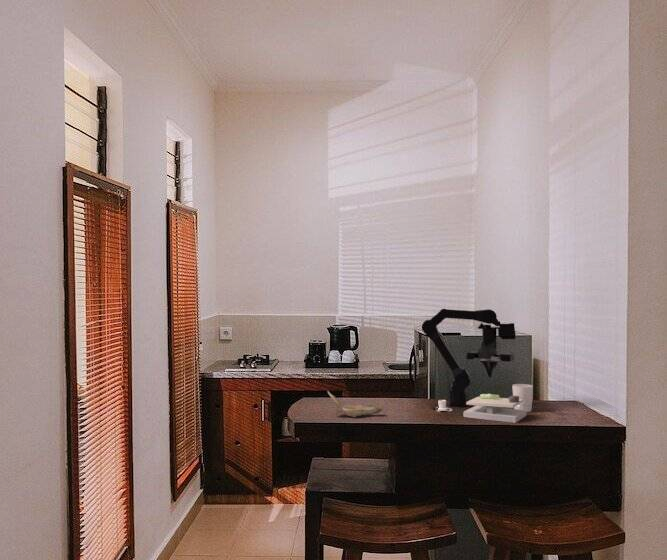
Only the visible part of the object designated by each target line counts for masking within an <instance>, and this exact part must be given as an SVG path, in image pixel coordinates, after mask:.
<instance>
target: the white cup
mask: <svg viewBox="0 0 667 560" xmlns="http://www.w3.org/2000/svg"><path fill="white" fill-rule="evenodd" d="M511 386H512V387H511V388H512V396H519V399H523V402H522V403H520V404H519V405H517V406H515V407H513V409H517V410H526V413H529V412H532V408H533V395H534V394H533V392H534V391H533V390H534V389H533V388H534V386H533V385H532V384H528V383H515V384H512V385H511Z"/></svg>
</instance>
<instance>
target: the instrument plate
mask: <svg viewBox="0 0 667 560" xmlns="http://www.w3.org/2000/svg"><path fill="white" fill-rule="evenodd" d="M522 402H523V399H519V396H513V395H509V396H508V397H507V398H506V397H500V395H499V394H492V393H481V394H480V395H479V396H477V397H474V398H472V399H470V400H468V401H467V402H466V406H476V405H478V406H487V407H488V406H494V407H503V408H508V409H514V407H515V406H517V405H519V404H520V403H522Z"/></svg>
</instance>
